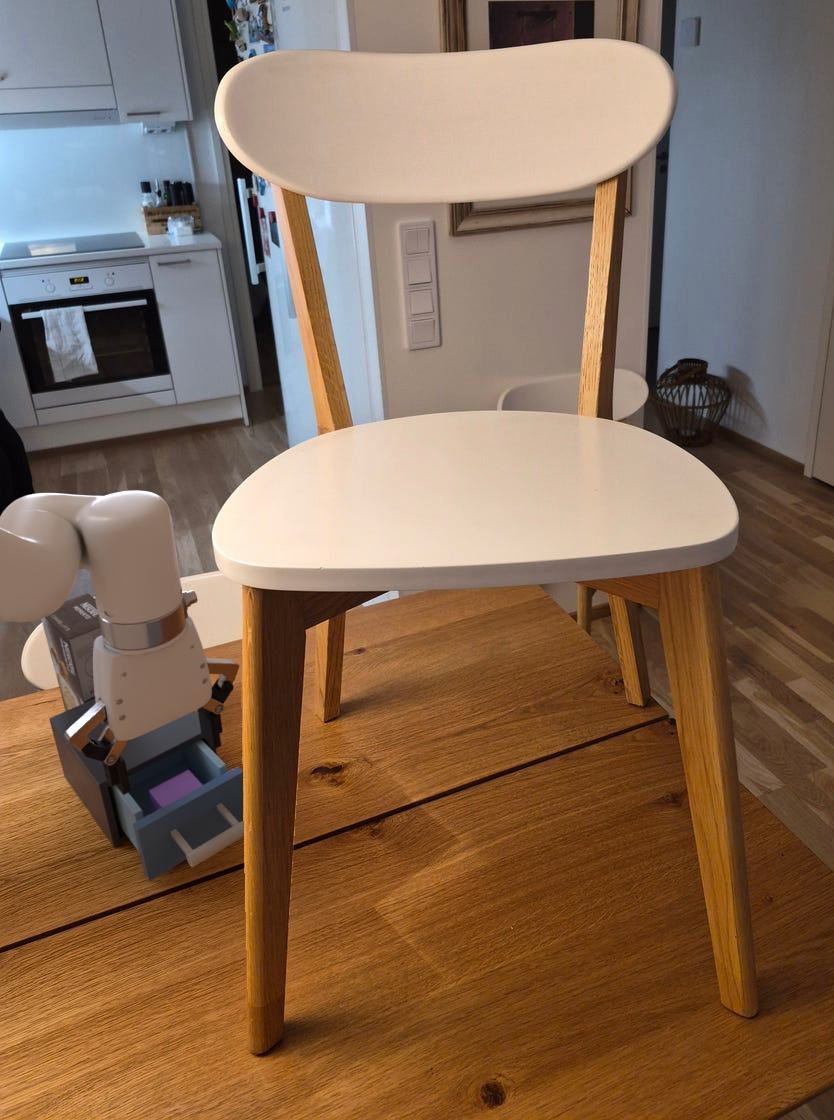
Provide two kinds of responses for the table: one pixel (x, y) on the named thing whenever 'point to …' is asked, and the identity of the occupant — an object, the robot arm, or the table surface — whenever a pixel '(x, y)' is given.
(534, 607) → the table surface
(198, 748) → the blue drawer
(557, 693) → the table surface
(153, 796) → the cube
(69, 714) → the dark grey drawer cabinet
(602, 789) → the table surface
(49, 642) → the coffee box
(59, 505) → the robot arm
